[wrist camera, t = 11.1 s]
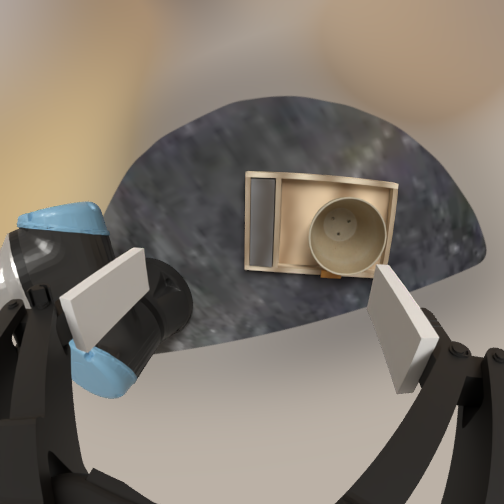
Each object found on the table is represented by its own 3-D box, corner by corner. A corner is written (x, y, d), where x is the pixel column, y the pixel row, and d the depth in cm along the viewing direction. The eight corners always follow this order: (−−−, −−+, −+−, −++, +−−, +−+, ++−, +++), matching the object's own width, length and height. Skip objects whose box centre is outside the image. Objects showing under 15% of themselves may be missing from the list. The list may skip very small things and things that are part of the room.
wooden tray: (247, 265, 44) (243, 272, 41) (248, 171, 39) (244, 172, 36) (380, 273, 41) (385, 281, 38) (393, 182, 36) (399, 184, 33)
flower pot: (308, 258, 41) (310, 278, 34) (304, 191, 38) (306, 199, 31) (371, 254, 39) (384, 273, 33) (372, 189, 36) (387, 196, 30)
